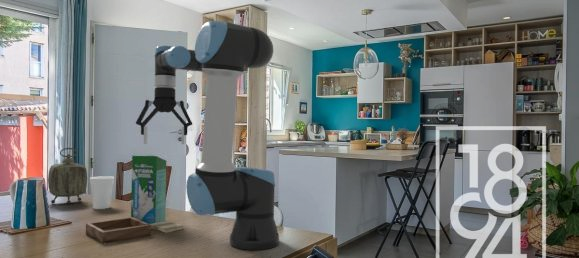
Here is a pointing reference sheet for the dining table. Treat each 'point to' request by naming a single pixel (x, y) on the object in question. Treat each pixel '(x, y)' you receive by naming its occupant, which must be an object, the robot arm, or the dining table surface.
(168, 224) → the beech board
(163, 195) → the milk carton
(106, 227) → the tray
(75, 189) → the tabletop clock
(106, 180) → the foam cup
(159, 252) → the dining table surface
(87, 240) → the dining table surface
